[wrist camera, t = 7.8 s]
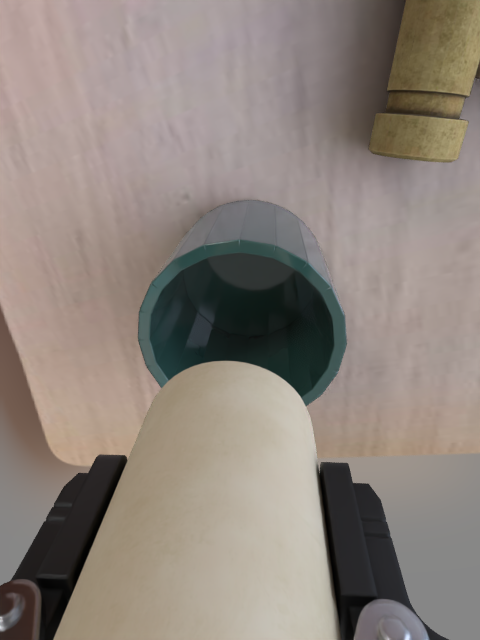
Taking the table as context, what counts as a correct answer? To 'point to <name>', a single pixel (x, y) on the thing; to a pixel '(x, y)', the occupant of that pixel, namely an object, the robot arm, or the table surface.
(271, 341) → the teal faceted cup
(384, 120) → the gavel
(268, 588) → the candle
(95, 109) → the table surface
